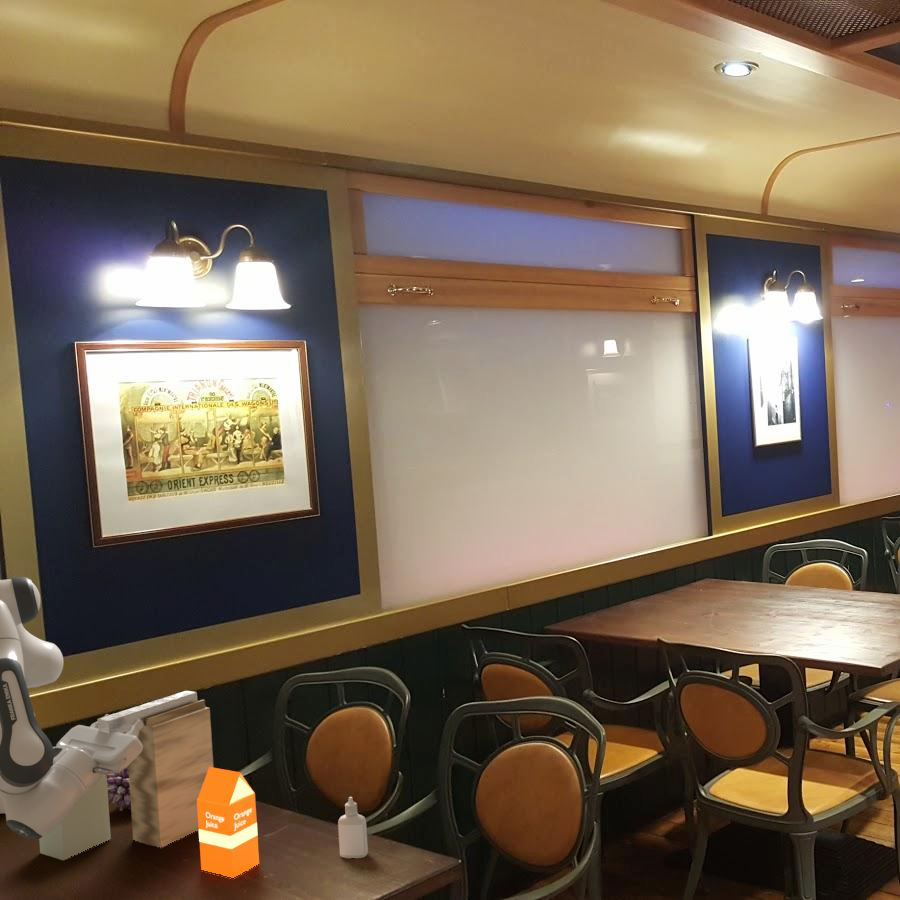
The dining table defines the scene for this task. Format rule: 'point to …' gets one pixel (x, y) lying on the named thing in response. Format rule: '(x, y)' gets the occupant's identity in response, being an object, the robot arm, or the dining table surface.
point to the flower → (119, 789)
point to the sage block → (81, 825)
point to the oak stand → (170, 774)
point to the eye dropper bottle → (352, 832)
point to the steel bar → (144, 712)
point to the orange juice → (227, 824)
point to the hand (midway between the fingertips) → (125, 719)
